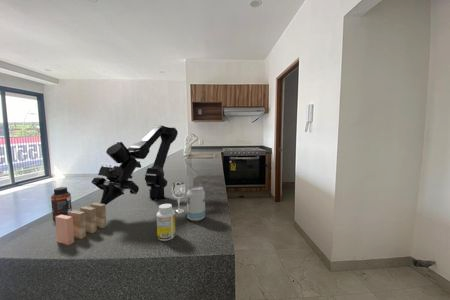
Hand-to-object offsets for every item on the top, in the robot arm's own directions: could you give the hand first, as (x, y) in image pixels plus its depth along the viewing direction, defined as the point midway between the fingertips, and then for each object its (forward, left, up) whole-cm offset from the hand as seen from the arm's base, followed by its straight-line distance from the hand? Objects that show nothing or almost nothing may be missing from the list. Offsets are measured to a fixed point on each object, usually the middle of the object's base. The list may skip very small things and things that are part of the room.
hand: (101, 205), depth 69 cm
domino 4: (+1, +1, -7) cm, 7 cm away
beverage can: (-31, +12, -7) cm, 34 cm away
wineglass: (-27, +2, -7) cm, 28 cm away
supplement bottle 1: (+15, -16, -7) cm, 23 cm away
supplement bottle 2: (-18, +20, -7) cm, 28 cm away
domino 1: (+9, +8, -7) cm, 14 cm away
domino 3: (+4, +3, -7) cm, 8 cm away
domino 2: (+6, +6, -7) cm, 11 cm away
